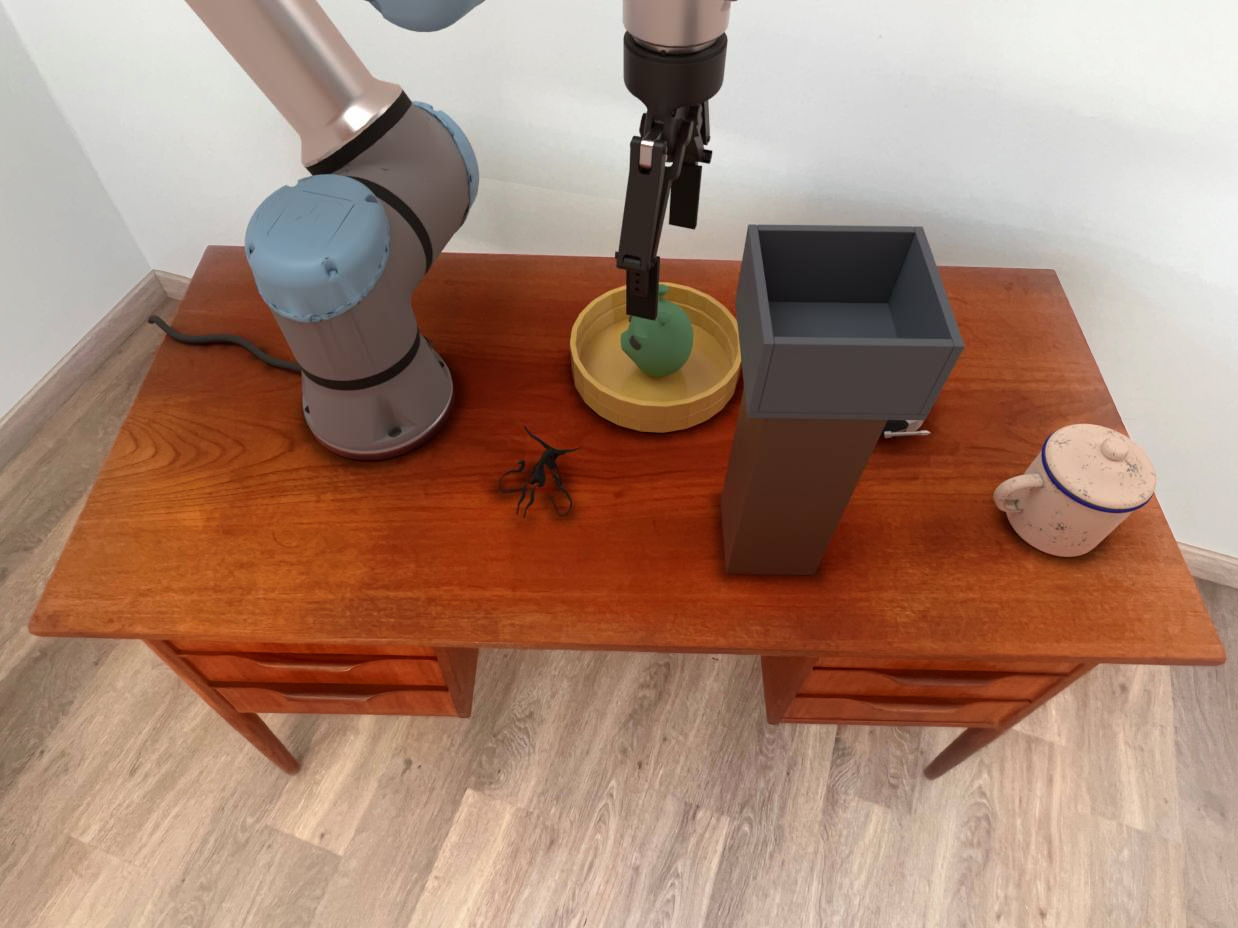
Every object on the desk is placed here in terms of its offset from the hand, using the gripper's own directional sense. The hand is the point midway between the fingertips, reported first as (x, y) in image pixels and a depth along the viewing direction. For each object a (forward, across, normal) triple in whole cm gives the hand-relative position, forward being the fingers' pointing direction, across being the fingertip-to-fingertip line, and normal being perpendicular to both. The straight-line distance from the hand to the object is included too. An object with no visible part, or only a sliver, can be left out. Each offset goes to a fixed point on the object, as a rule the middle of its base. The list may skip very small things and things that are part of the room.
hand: (663, 268), depth 70 cm
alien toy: (+14, 0, 0) cm, 14 cm away
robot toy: (+14, +2, -21) cm, 25 cm away
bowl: (+14, 0, 0) cm, 14 cm away
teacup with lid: (+15, -7, -40) cm, 43 cm away
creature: (+14, -19, +6) cm, 25 cm away
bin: (+14, -17, -16) cm, 27 cm away
